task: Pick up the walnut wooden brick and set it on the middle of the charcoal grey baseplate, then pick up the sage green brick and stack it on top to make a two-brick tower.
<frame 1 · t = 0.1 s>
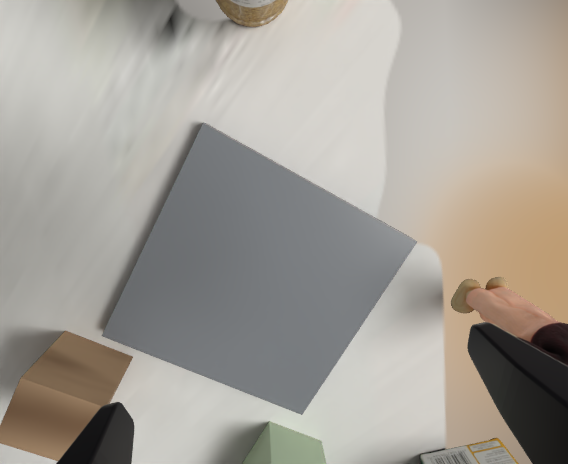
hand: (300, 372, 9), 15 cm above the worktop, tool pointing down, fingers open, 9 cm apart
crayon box: (457, 455, 31), on the worktop
walnut brick: (87, 369, 26), on the worktop
grandmother figurine: (484, 293, 27), on the worktop
baseplate: (259, 282, 25), on the worktop
sage brick: (281, 452, 29), on the worktop
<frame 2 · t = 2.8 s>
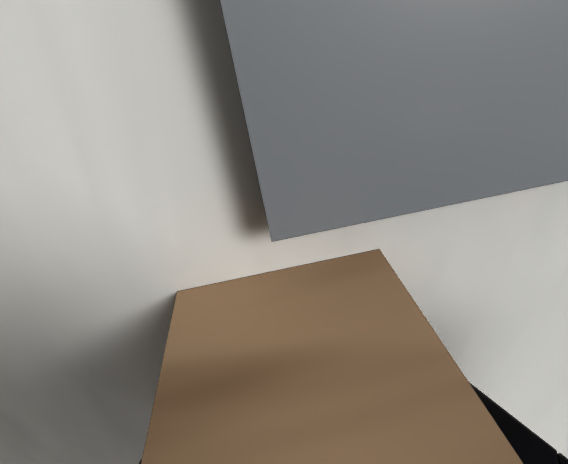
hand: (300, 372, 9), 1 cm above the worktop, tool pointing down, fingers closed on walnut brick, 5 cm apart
walnut brick: (294, 340, 10), on the worktop, touching gripper
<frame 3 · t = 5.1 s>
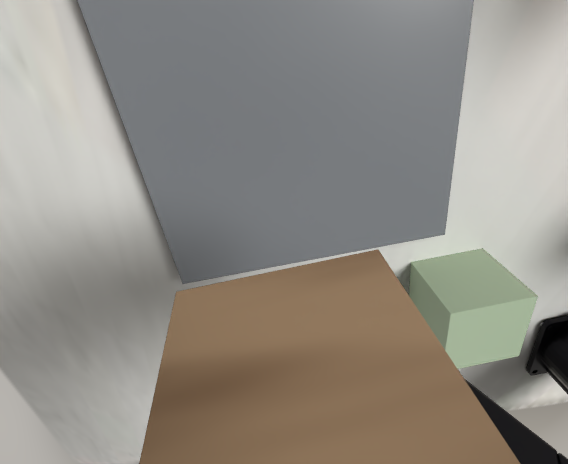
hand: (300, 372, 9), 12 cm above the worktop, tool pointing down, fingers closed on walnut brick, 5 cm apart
walnut brick: (293, 340, 10), point 11 cm above the worktop, touching gripper
baseplate: (297, 119, 17), on the worktop
sage brick: (442, 283, 25), on the worktop
when the fingers open (3 cm above the worktop, at t = 7.5 s): walnut brick stays where it is, resting on baseplate.
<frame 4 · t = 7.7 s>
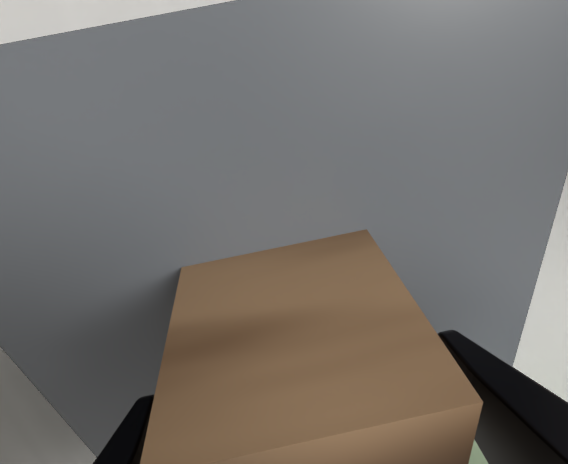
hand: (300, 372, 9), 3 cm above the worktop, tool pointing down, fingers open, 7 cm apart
walnut brick: (288, 315, 10), point 1 cm above the worktop, touching baseplate
baseplate: (284, 294, 11), on the worktop
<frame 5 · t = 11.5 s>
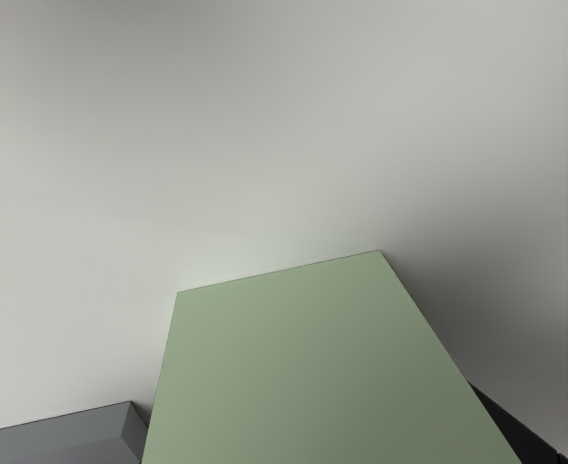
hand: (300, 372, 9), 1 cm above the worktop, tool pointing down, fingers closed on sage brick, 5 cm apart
sage brick: (294, 341, 10), on the worktop, touching gripper
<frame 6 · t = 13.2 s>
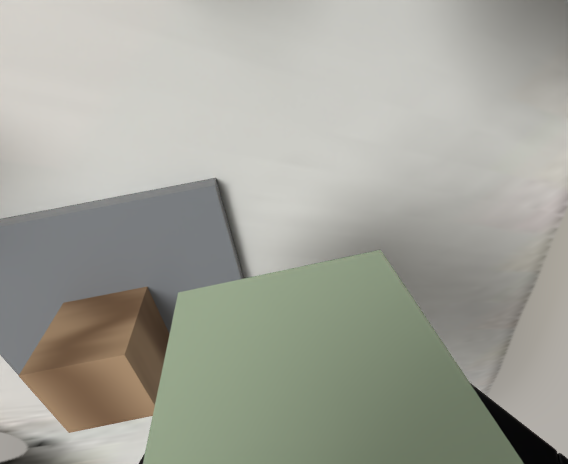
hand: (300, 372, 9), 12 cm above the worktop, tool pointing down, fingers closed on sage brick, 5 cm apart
walnut brick: (121, 324, 22), point 1 cm above the worktop, touching baseplate
baseplate: (126, 312, 23), on the worktop
sage brick: (294, 341, 10), point 11 cm above the worktop, touching gripper
when the fingers open (8 cm above the worktop, at t = 15.0 s): sage brick stays where it is, resting on walnut brick.
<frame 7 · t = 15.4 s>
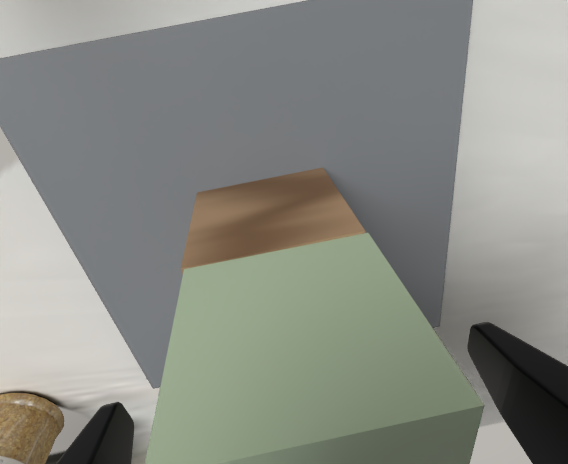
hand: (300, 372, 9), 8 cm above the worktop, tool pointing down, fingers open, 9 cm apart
sprinkles bottle: (26, 410, 20), on the worktop
walnut brick: (271, 233, 15), point 1 cm above the worktop, touching baseplate, sage brick
baseplate: (269, 222, 16), on the worktop
sage brick: (290, 317, 11), point 6 cm above the worktop, touching walnut brick
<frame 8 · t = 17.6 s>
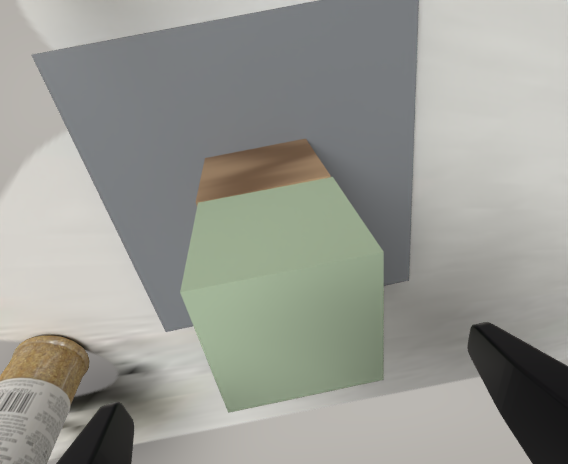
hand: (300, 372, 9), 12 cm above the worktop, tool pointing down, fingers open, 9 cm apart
sprinkles bottle: (57, 353, 23), on the worktop
walnut brick: (264, 194, 18), point 1 cm above the worktop, touching baseplate, sage brick
baseplate: (263, 187, 19), on the worktop
sage brick: (276, 246, 14), point 6 cm above the worktop, touching walnut brick
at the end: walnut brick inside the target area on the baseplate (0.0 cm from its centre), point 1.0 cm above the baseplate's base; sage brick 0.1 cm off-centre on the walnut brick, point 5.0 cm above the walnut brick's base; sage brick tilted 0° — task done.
